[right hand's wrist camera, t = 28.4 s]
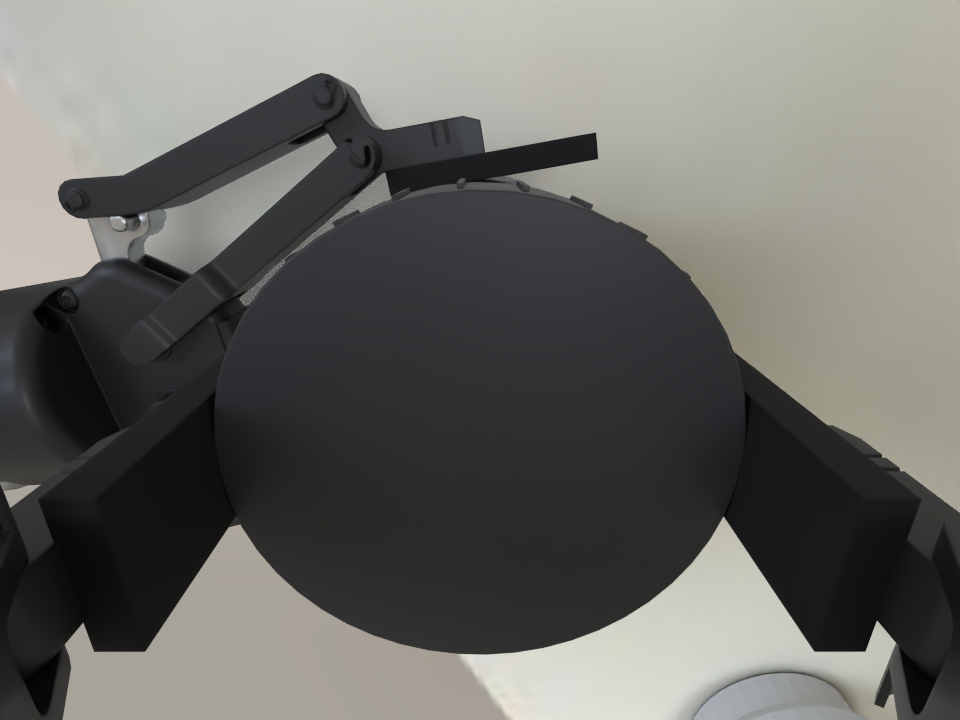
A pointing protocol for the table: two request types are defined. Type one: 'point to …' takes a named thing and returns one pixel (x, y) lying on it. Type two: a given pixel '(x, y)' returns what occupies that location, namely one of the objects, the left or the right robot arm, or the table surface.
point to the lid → (479, 419)
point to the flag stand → (778, 700)
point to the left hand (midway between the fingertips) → (601, 294)
